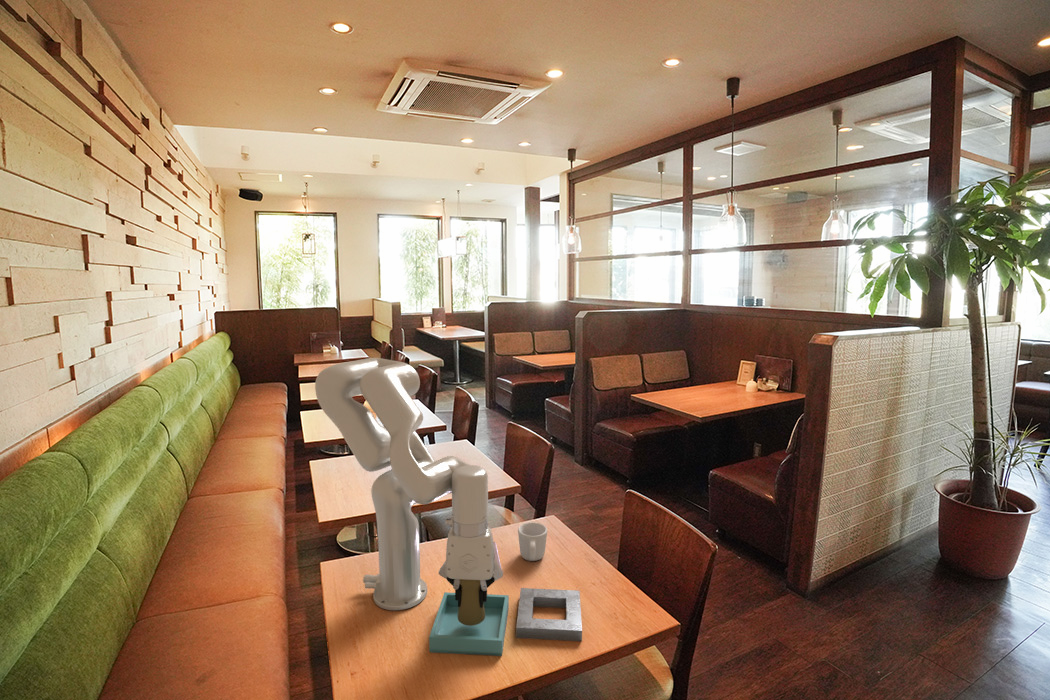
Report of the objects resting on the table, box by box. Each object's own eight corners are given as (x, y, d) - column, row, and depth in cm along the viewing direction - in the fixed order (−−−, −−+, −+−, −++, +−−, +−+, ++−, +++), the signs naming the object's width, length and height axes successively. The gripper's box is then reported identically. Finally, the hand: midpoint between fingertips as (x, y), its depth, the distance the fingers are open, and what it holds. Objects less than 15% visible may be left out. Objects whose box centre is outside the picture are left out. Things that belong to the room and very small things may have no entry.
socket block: (516, 637, 114) (516, 627, 114) (520, 597, 128) (520, 587, 128) (581, 641, 114) (582, 630, 113) (579, 600, 127) (579, 590, 127)
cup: (547, 570, 139) (548, 542, 138) (517, 570, 139) (517, 541, 138) (546, 548, 150) (546, 522, 149) (518, 548, 150) (518, 521, 149)
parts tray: (429, 652, 110) (429, 637, 109) (444, 605, 125) (444, 592, 124) (501, 656, 109) (501, 640, 108) (508, 608, 124) (508, 595, 123)
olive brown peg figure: (481, 627, 113) (480, 579, 111) (453, 623, 114) (452, 576, 112) (488, 609, 119) (488, 563, 117) (462, 605, 120) (461, 560, 118)
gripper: (427, 532, 110) (429, 612, 113) (508, 534, 109) (508, 616, 112) (435, 515, 117) (437, 591, 120) (511, 517, 116) (511, 594, 119)
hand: (471, 602), depth 116 cm, fingers closed on olive brown peg figure, 4 cm apart
